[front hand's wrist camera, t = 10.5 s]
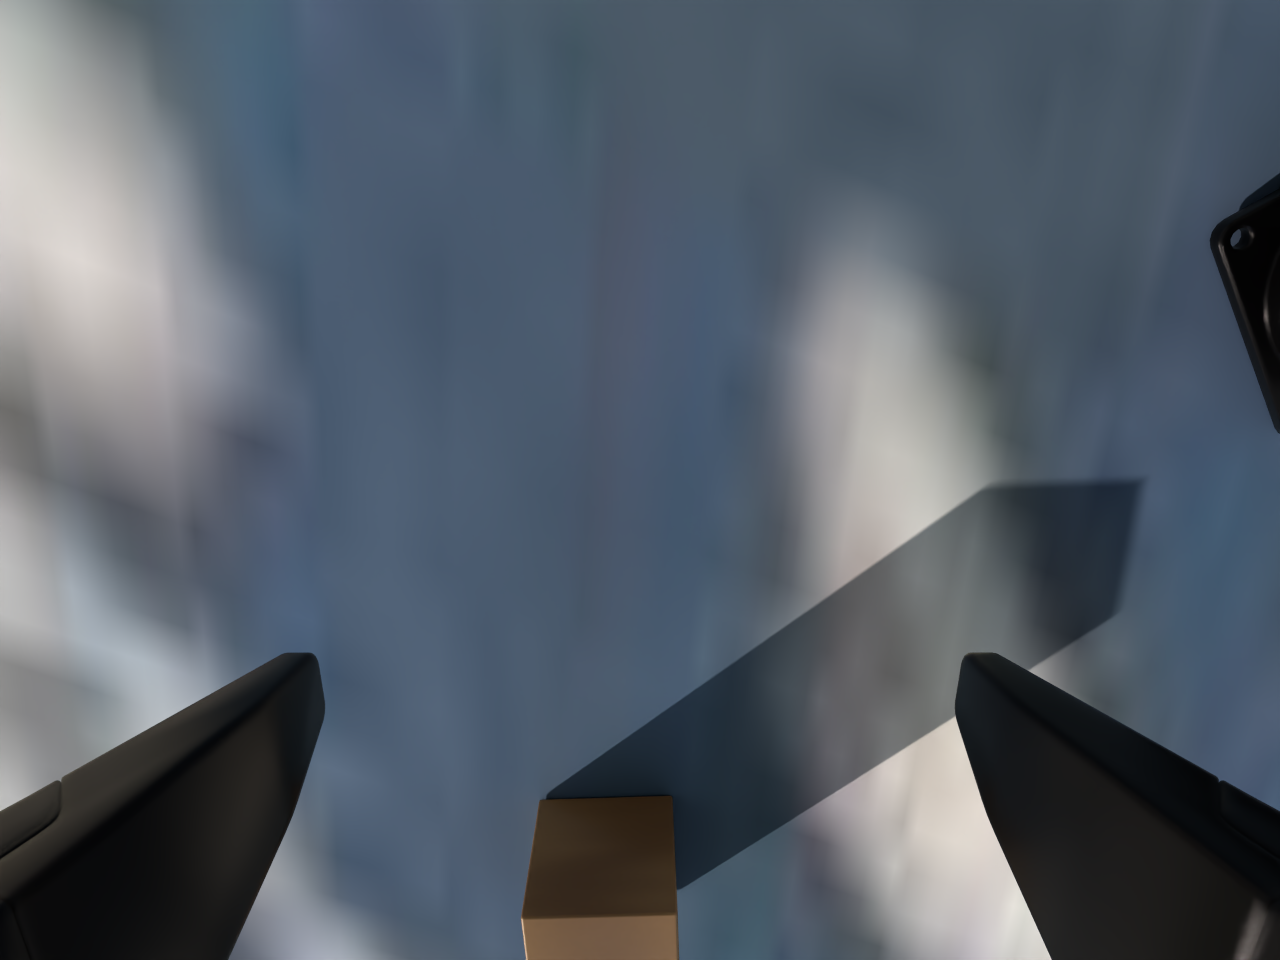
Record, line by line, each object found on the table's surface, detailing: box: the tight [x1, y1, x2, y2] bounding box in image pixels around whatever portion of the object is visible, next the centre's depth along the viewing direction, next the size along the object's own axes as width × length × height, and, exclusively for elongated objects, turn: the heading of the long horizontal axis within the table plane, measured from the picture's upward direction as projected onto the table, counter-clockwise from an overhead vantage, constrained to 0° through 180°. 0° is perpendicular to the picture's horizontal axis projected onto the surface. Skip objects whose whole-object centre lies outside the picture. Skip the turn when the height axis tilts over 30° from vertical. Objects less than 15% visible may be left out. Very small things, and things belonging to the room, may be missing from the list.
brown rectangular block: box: [521, 796, 679, 960], centre depth 27 cm, size 4×4×5 cm
